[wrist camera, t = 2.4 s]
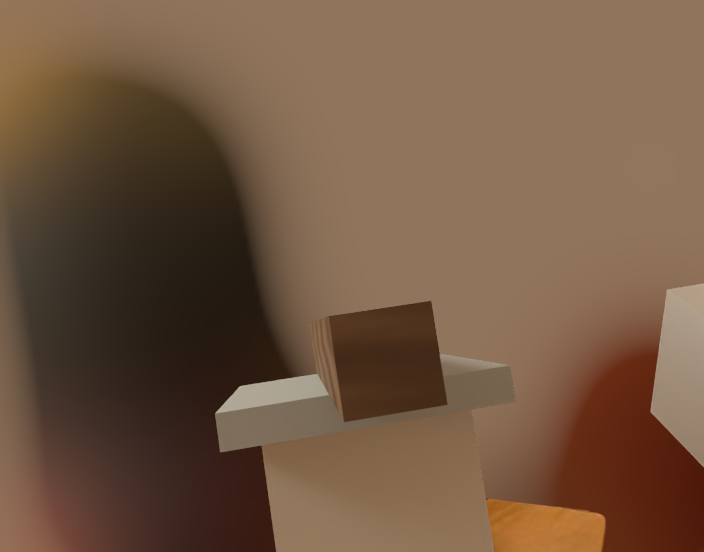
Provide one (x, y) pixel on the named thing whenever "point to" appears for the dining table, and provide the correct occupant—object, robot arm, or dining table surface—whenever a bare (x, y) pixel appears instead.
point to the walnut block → (380, 361)
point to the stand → (370, 464)
